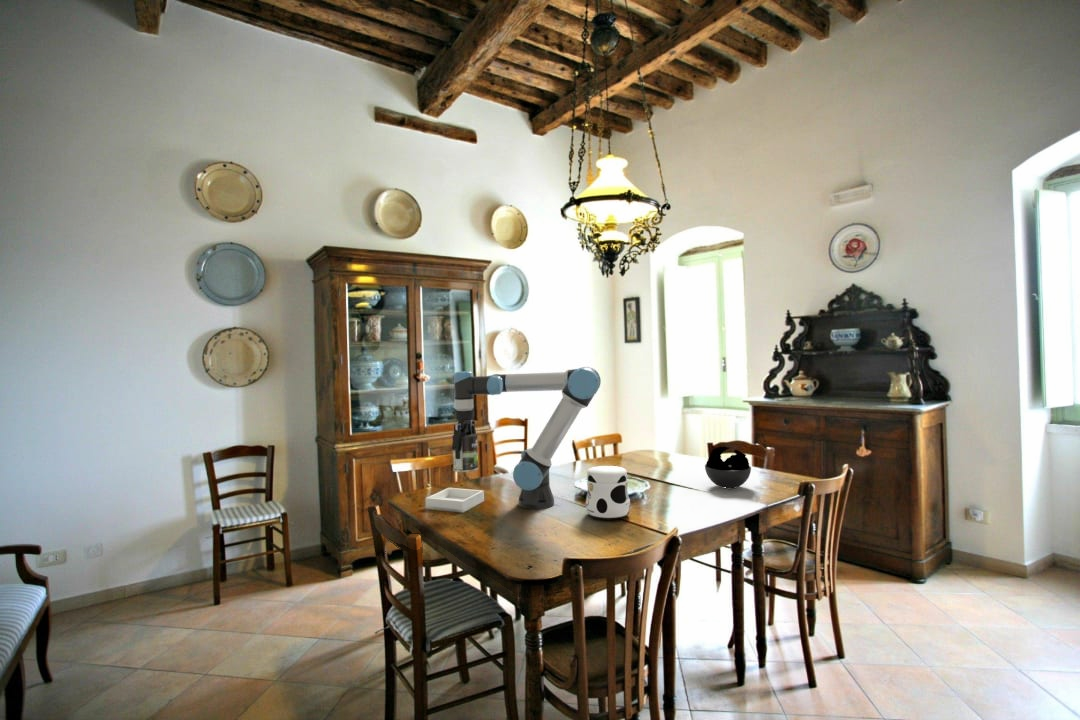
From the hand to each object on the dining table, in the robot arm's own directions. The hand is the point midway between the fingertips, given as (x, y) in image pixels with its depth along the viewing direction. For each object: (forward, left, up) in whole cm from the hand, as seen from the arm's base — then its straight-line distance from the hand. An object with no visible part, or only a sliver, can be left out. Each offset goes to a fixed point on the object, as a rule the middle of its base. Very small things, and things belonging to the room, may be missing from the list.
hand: (465, 463), depth 219 cm
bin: (+10, -8, -20) cm, 24 cm away
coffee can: (0, 0, -3) cm, 3 cm away
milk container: (-56, -13, -20) cm, 61 cm away
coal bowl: (-97, -70, -20) cm, 121 cm away
